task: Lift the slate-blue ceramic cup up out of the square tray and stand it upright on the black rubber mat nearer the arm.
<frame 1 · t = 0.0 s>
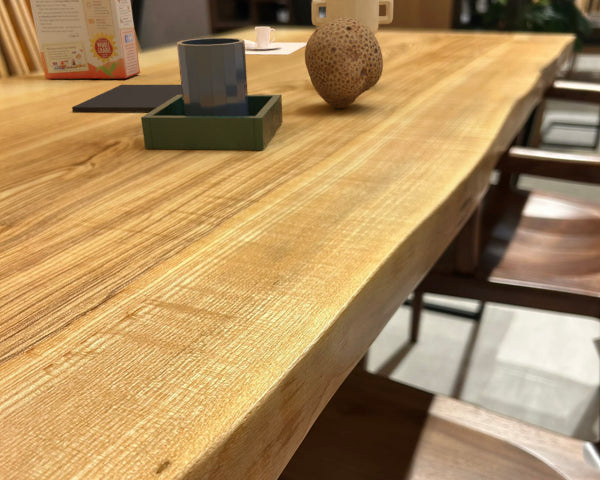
cup: (214, 89, 64), in the square tray
square tray: (218, 135, 66), on the table
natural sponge: (344, 109, 77), on the table
teacup and saucer: (253, 49, 133), on the table
cracker box: (93, 78, 103), on the table
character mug: (351, 87, 90), on the table
rubber mat: (149, 99, 84), on the table
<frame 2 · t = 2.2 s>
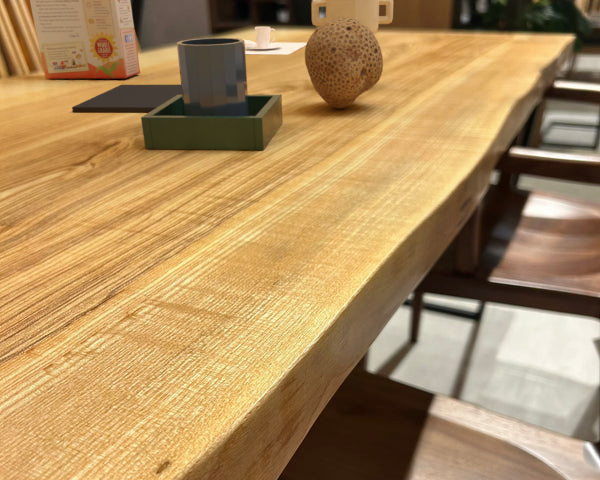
nothing on the table moved.
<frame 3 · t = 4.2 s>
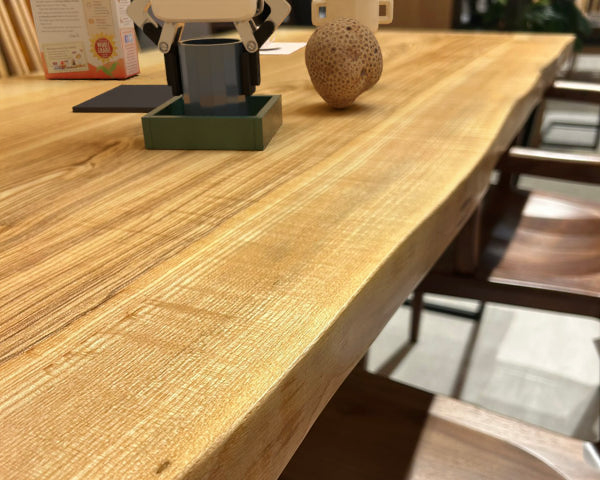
hand: (214, 92, 64), 4 cm above the table, tool pointing down, fingers closed on cup, 6 cm apart
cup: (214, 89, 64), in the square tray, touching gripper
everything else where it was.
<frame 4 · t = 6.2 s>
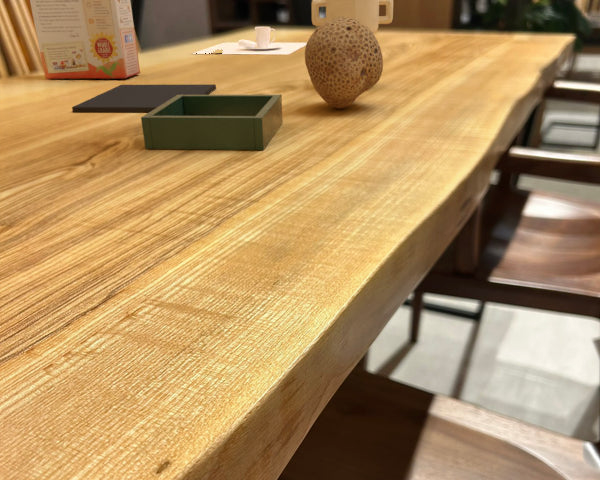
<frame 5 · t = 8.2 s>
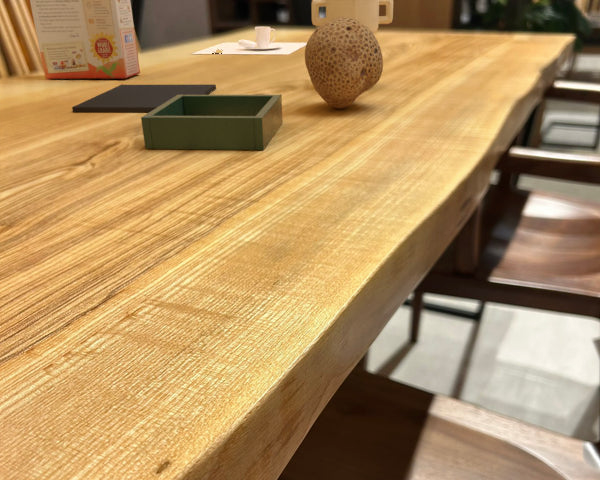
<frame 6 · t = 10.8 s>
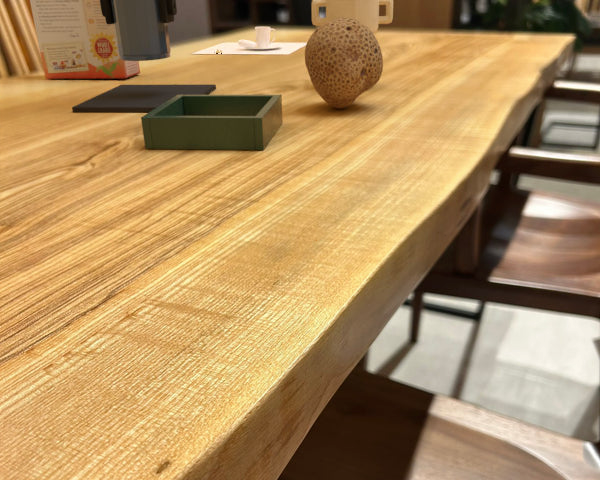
hand: (140, 21, 80), 9 cm above the table, tool pointing down, fingers closed on cup, 6 cm apart
cup: (140, 19, 80), point 10 cm above the table, touching gripper
everything else where it was.
when the fingers open (5 cm above the table, at t = 12.4 s): cup stays where it is, resting on rubber mat.
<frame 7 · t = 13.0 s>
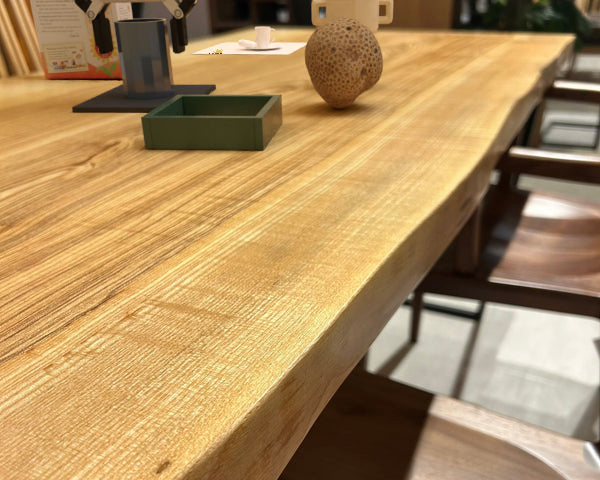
hand: (142, 52, 81), 6 cm above the table, tool pointing down, fingers open, 9 cm apart
cup: (145, 58, 82), on the rubber mat, point 5 cm above the table
everything else where it was.
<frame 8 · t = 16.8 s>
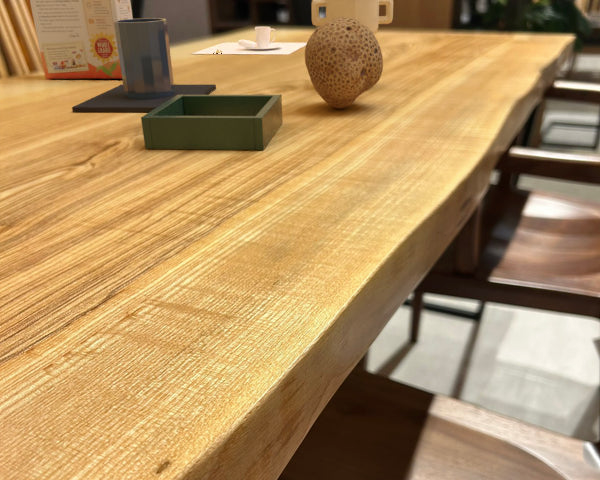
nothing on the table moved.
at the end: cup inside the target area on the rubber mat (0.1 cm from its centre), point 5.1 cm above the rubber mat's base; cup tilted 0°; cup touching rubber mat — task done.
